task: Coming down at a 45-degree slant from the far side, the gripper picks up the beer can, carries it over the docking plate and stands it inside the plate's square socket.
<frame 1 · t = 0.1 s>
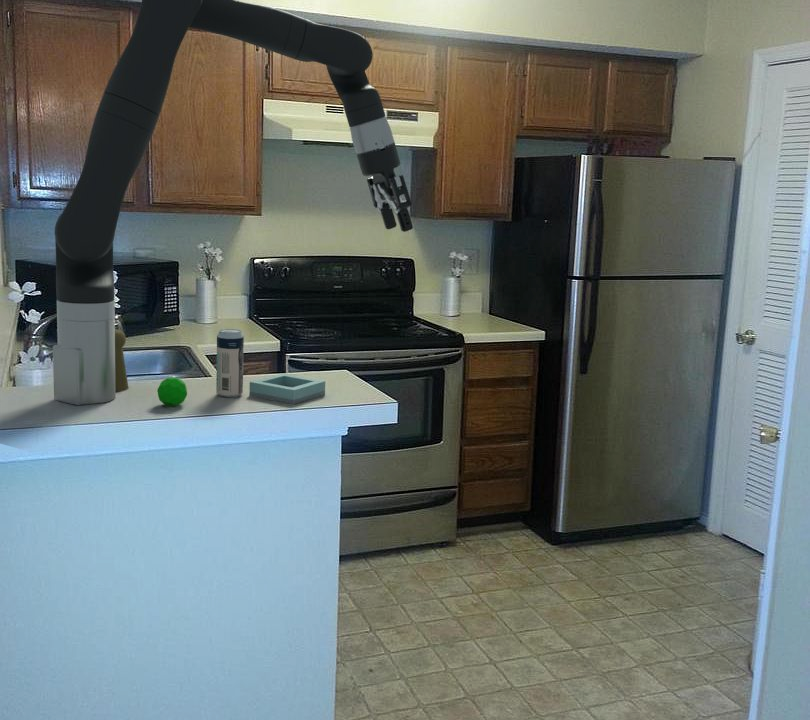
hand: (399, 229, 160), 31 cm above the worktop, tool tilted 20°, fingers open, 8 cm apart
polyhedron: (172, 406, 144), on the worktop
dock: (287, 395, 155), on the worktop
brown pawn: (111, 389, 153), on the worktop
beer can: (229, 396, 153), on the worktop
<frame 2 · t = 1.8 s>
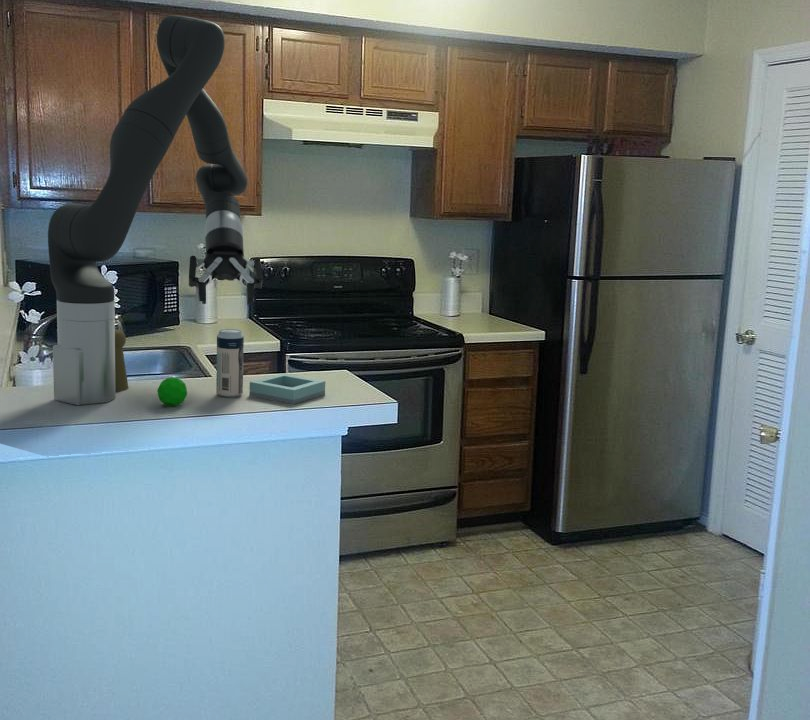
hand: (226, 302, 161), 16 cm above the worktop, tool tilted 45°, fingers open, 8 cm apart
nothing on the worktop moved.
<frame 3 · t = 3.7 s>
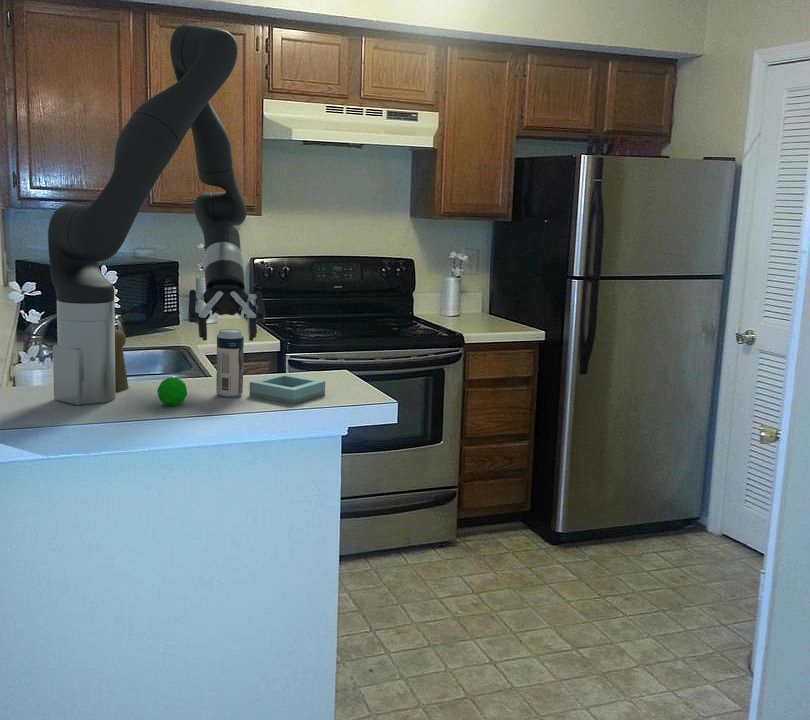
hand: (228, 338, 155), 10 cm above the worktop, tool tilted 45°, fingers open, 8 cm apart
nothing on the worktop moved.
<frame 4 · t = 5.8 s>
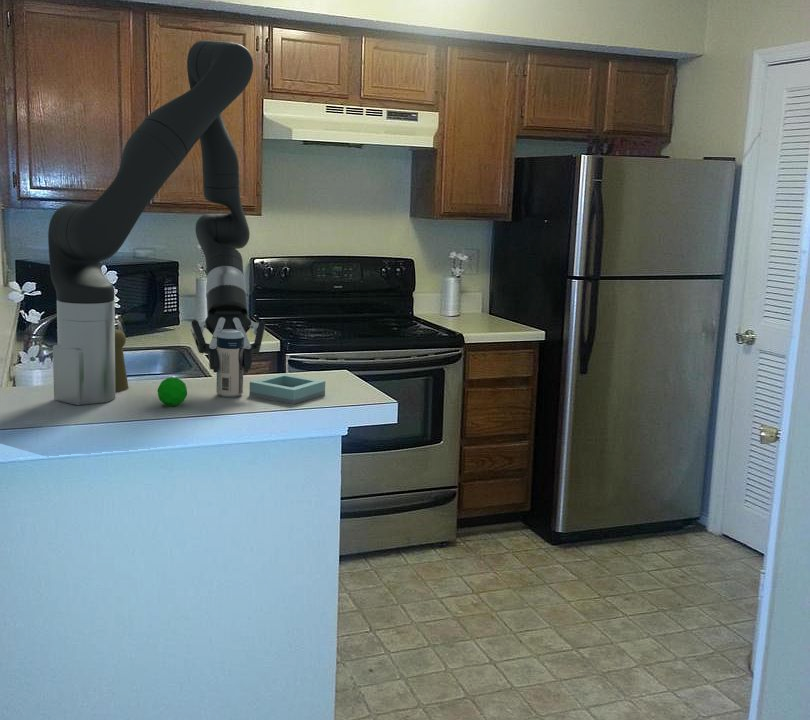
hand: (231, 369, 150), 5 cm above the worktop, tool tilted 45°, fingers closed on beer can, 4 cm apart
beer can: (229, 396, 153), on the worktop, touching gripper
everything else where it was.
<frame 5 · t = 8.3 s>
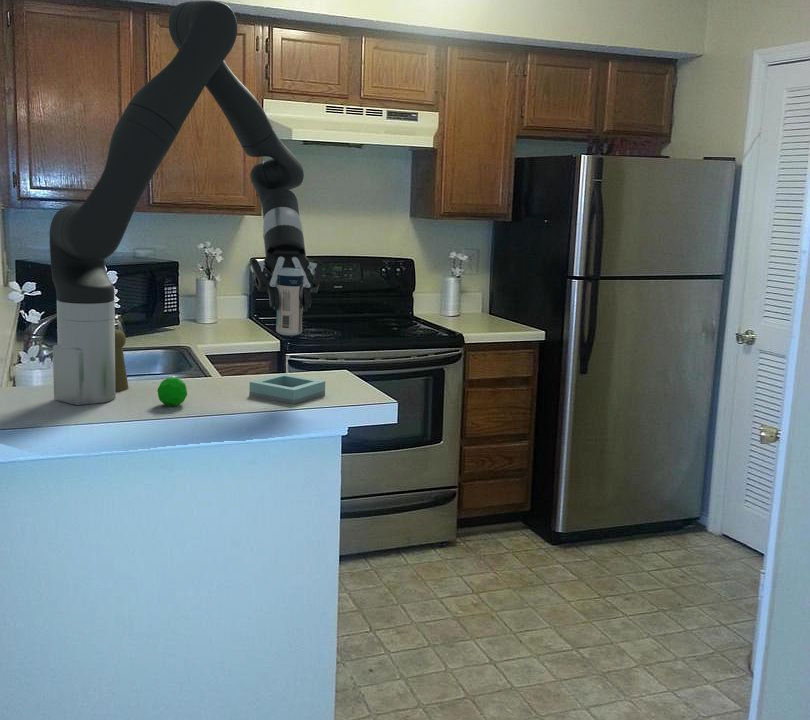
hand: (291, 307, 150), 17 cm above the worktop, tool tilted 45°, fingers closed on beer can, 4 cm apart
beer can: (288, 334, 153), point 11 cm above the worktop, touching gripper
everything else where it was.
when the fingers open (7 cm above the worktop, at t = 10.8 s): beer can drops 1 cm, resting on dock.
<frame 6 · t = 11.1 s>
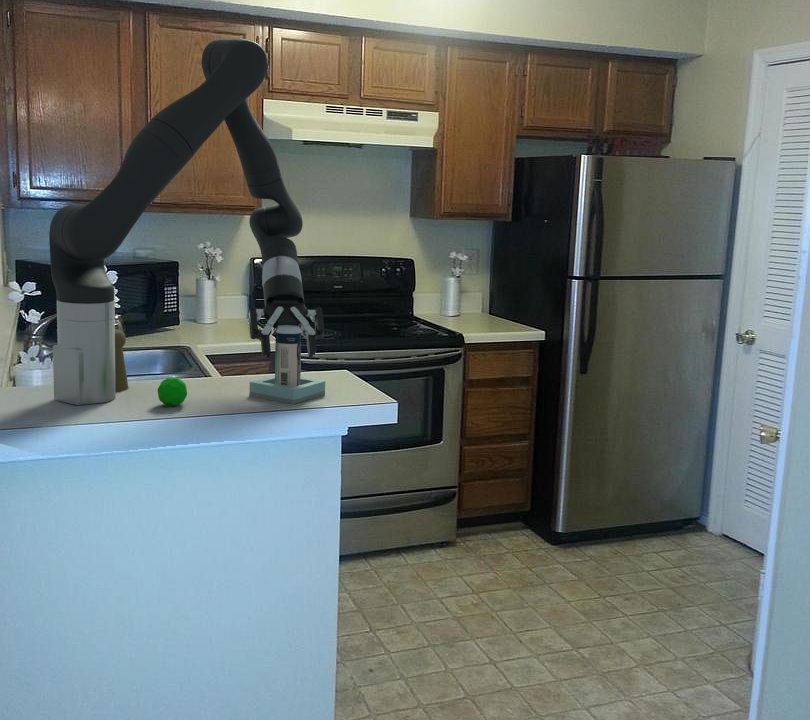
hand: (290, 355, 152), 8 cm above the worktop, tool tilted 45°, fingers open, 7 cm apart
beer can: (287, 391, 155), point 1 cm above the worktop, touching dock
everything else where it was.
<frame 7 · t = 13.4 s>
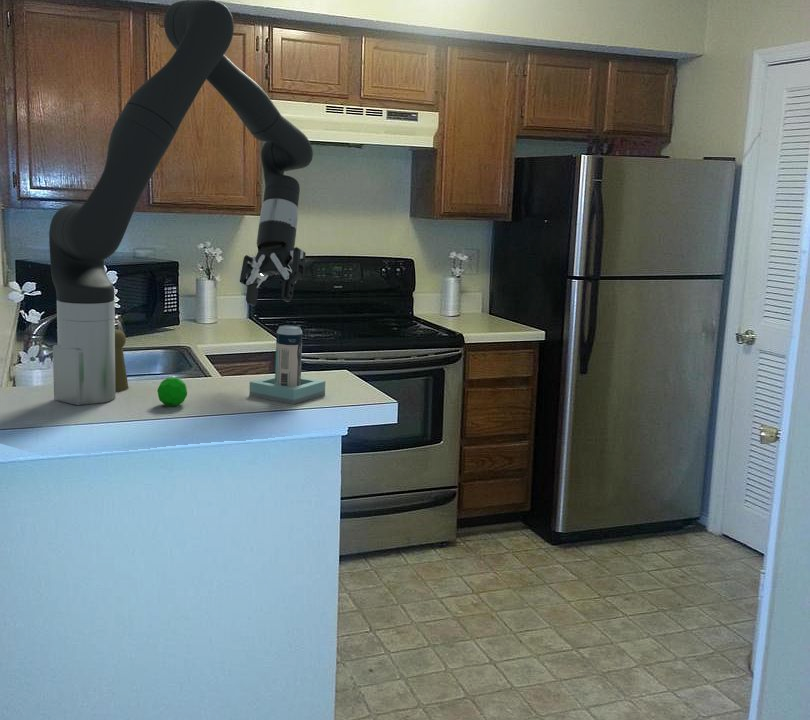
hand: (268, 302, 163), 16 cm above the worktop, tool tilted 25°, fingers open, 8 cm apart
nothing on the worktop moved.
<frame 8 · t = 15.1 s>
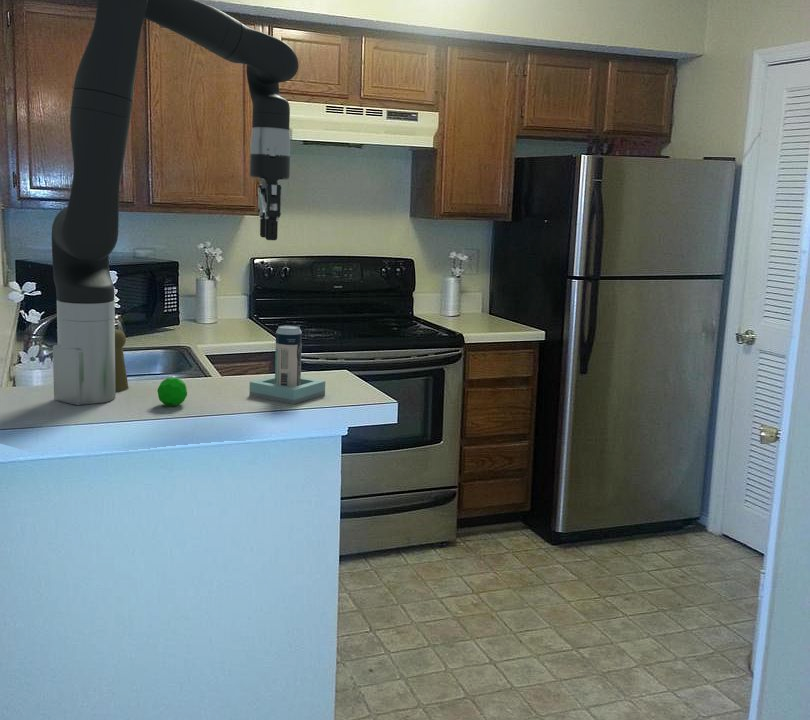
hand: (268, 238, 162), 28 cm above the worktop, tool pointing down, fingers open, 8 cm apart
nothing on the worktop moved.
at the end: beer can 0.3 cm off-centre on the dock, point 0.6 cm above the dock's base; beer can tilted 0°; the gripper is holding nothing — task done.
